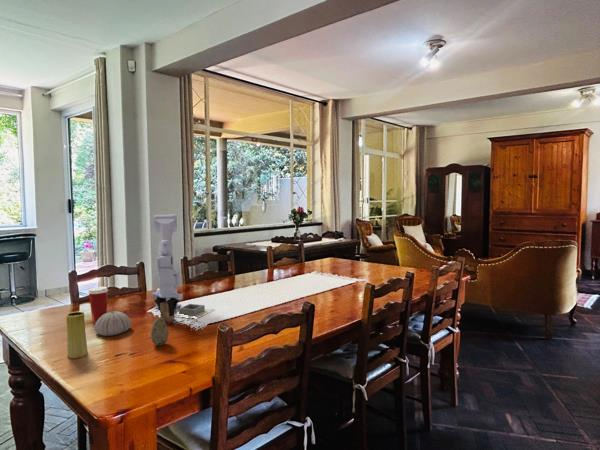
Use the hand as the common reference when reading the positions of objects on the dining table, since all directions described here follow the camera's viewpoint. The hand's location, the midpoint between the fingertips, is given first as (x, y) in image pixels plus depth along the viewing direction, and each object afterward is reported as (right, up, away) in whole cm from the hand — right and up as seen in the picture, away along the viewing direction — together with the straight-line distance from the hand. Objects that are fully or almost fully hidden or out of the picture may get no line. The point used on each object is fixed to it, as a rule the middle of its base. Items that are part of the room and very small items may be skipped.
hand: (167, 314), depth 173 cm
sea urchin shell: (-17, -4, -13) cm, 22 cm away
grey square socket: (+8, -2, +10) cm, 13 cm away
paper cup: (-29, -3, +1) cm, 30 cm away
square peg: (0, -2, 0) cm, 2 cm away
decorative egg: (+6, -5, -27) cm, 28 cm away
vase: (-19, -6, -35) cm, 41 cm away
